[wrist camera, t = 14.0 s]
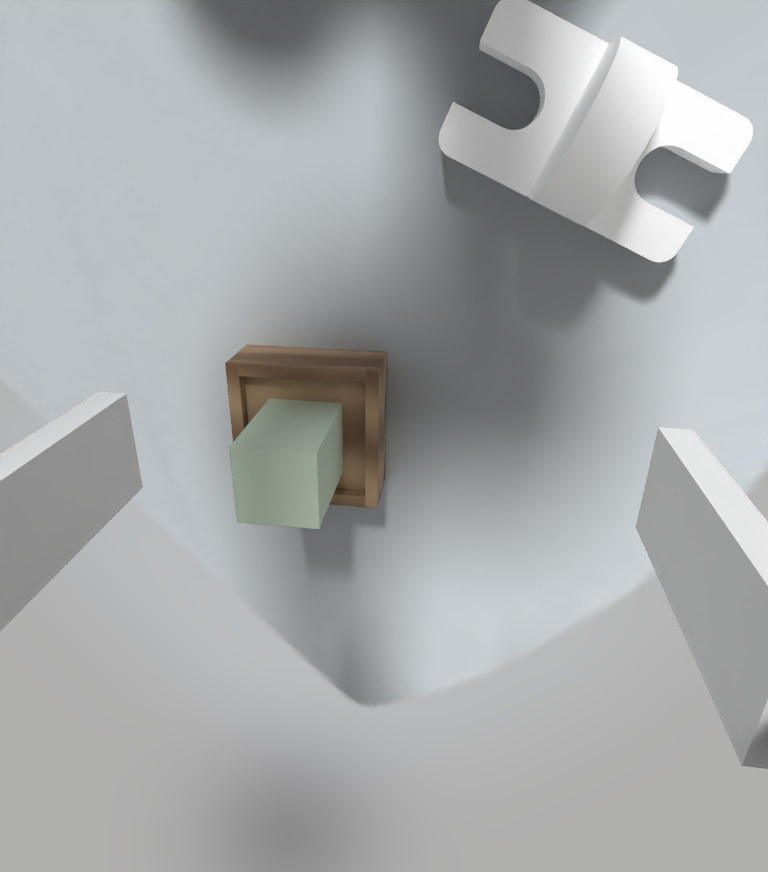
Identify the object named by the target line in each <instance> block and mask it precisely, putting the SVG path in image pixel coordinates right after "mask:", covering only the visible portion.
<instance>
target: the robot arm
mask: <svg viewBox="0 0 768 872" xmlns="http://www.w3.org/2000/svg"><path fill="white" fill-rule="evenodd" d="M142 487H143V486H142V480H141V475H140V469H139V463H138V458H137V452H136V446H135V441H134V435H133V429H132V424H131V418H130V412H129V407H128V401H127V395H126V394H123V393H107V392H97V393H96V394H94V395H93V396H91V397H89V398H88V399H86V400H85V401H83V402H82V403H80V404H78V405H77V406H75V407H74V408H72V409H71V410H69V411H67V412H66V413H64V414H63V415H61V416H60V417H58V418H56V419H55V420H53V421H52V422H50V423H49V424H47V425H45V426H44V427H42V428H41V429H39V430H38V431H36V432H34V433H33V434H31V435H30V436H28V437H27V438H25V439H24V440H22V441H20V442H19V443H17V444H16V445H14V446H12V447H11V448H9V449H8V450H7V451H5V452H3V453H1V454H0V631H1V630H2V629H3V628H4V627H5V626H6V625H7V624H8V623H9V622H10V621H11V620H12V619H13V618H14V617H15V616H16V615H17V614H18V613H19V612H20V611H21V610H22V609H23V608H24V607H25V606H26V605H27V604H28V603H29V602H30V601H31V600H32V599H33V597H35V596H36V595H37V594H38V593H39V592H40V591H41V590H42V589H43V588H44V587H45V586H46V585H47V584H48V583H49V582H50V581H51V579H52V578H54V577H55V575H57V574H58V572H59V571H60V570H61V569H62V568H63V567H64V566H65V565H66V564H67V563H68V562H69V561H70V560H71V559H72V558H73V557H74V556H75V555H76V554H77V553H78V552H79V551H80V550H81V549H82V548H83V547H84V546H85V545H86V544H87V543H88V542H89V541H90V540H91V539H92V538H93V537H94V536H95V535H96V534H97V533H98V532H99V531H100V530H101V529H102V528H103V527H104V526H105V525H106V524H107V523H108V522H109V521H110V520H111V519H112V518H113V517H114V516H115V515H116V514H117V513H118V512H119V511H120V510H121V508H123V507H124V505H126V504H127V503H128V502H129V501H130V499H131V498H132V497H133V496H134V495H135V494H136V493H137V492H138V491H139V490H140V489H141V488H142ZM636 529H637V531H638V533H639V535H640V538H641V540H642V542H643V544H644V547H645V549H646V551H647V553H648V556H649V558H650V560H651V562H652V565H653V567H654V569H655V571H656V574H657V576H658V578H659V580H660V582H661V585H662V587H663V589H664V592H665V594H666V596H667V598H668V600H669V603H670V605H671V607H672V609H673V612H674V614H675V616H676V618H677V621H678V623H679V625H680V627H681V630H682V632H683V634H684V636H685V639H686V641H687V643H688V645H689V648H690V650H691V652H692V654H693V657H694V658H695V661H696V663H697V666H698V668H699V670H700V672H701V675H702V677H703V679H704V681H705V684H706V686H707V688H708V690H709V693H710V695H711V697H712V699H713V701H714V704H715V706H716V708H717V711H718V713H719V715H720V717H721V720H722V722H723V724H724V726H725V728H726V731H727V733H728V735H729V737H730V740H731V742H732V744H733V747H734V749H735V751H736V753H737V756H738V758H739V760H740V762H741V764H742V766H750V767H758V768H767V769H768V522H767V521H766V519H765V518H764V517H763V516H762V514H761V513H760V512H759V511H758V510H757V508H756V507H755V506H754V504H753V503H752V502H751V501H750V500H749V498H748V497H747V496H746V495H745V493H744V492H743V491H742V490H741V488H740V487H739V486H738V485H737V484H736V482H735V481H734V480H733V479H732V477H731V476H730V475H729V474H728V472H727V471H726V470H725V469H724V467H723V466H722V465H721V464H720V463H719V461H718V460H717V459H716V458H715V456H714V455H713V454H712V453H711V451H710V450H709V449H708V448H707V446H706V445H705V444H704V443H703V442H702V440H701V439H700V438H699V437H698V435H697V434H696V433H695V432H694V430H692V429H676V428H660V427H658V431H657V436H656V440H655V444H654V449H653V453H652V458H651V462H650V467H649V471H648V475H647V480H646V484H645V489H644V493H643V498H642V502H641V506H640V511H639V515H638V520H637V524H636Z"/></svg>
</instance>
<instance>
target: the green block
mask: <svg viewBox="0 0 768 872" xmlns="http://www.w3.org/2000/svg"><path fill="white" fill-rule="evenodd" d="M229 448H230V458H231V467H232V477H233V487H234V496H235V506H236V515H237V522H240V523H252V524H264V525H275V526H287V527H299V528H310V529H320V527H321V524H322V522H323V519H324V517H325V514H326V512H327V509H328V507H329V504H330V502H331V499H332V497H333V494H334V492H335V489H336V487H337V484H338V482H339V479H340V477H341V474H342V472H343V410H342V403H333V402H317V401H301V400H285V399H268V401H267V402H266V403H265V404H264V405H263V407H262V408H261V409H260V410H259V412H258V413H257V414H256V415H255V416H254V418H253V419H252V420H251V421H250V422H249V424H248V425H247V426H246V427H245V429H244V430H243V431H242V432H241V433H240V435H239V436H238V437H237V438H236V439H235V441H234V442H233V443H232V444H231V445H230V447H229Z"/></svg>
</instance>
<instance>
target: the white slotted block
mask: <svg viewBox="0 0 768 872" xmlns="http://www.w3.org/2000/svg"><path fill="white" fill-rule="evenodd" d="M479 50H480V51H482V52H484V53H486V54H488V55H490V56H492V57H494V58H496V59H497V60H499V61H501V62H503V63H505V64H507V65H509V66H511V67H513V68H514V69H516V70H518V71H520V72H522V73H524V74H526V75H527V76H529V77H530V78H531V79H533V81H534V82H535V84H536V85H537V87H538V90H539V95H540V104H539V109H538V111H537V114H536V116H535V117H534V119H533V120H532V122H531V123H530V124H529V125H528V126H526V127H525V128H522V129H519V130H509V129H506V128H503V127H501V126H499V125H497V124H495V123H493V122H491V121H489V120H487V119H485V118H483V117H481V116H480V115H478V114H476V113H474V112H472V111H470V110H468V109H466V108H464V107H462V106H460V105H458V104H456V103H455V102H453V103H452V105H451V107H450V109H449V112H448V114H447V116H446V119H445V121H444V123H443V125H442V128H441V130H440V133H439V140H438V141H439V146H440V148H441V150H442V152H443V153H444V154H445V155H447V156H448V157H450V158H452V159H454V160H456V161H458V162H460V163H462V164H464V165H466V166H468V167H470V168H471V169H473V170H475V171H477V172H479V173H481V174H483V175H485V176H487V177H489V178H491V179H493V180H495V181H497V182H499V183H501V184H503V185H505V186H507V187H509V188H510V189H512V190H514V191H516V192H518V193H520V194H522V195H524V196H526V197H528V198H529V199H531V200H532V201H534V202H536V203H538V204H540V205H542V206H544V207H546V208H548V209H550V210H552V211H554V212H556V213H558V214H560V215H562V216H564V217H566V218H568V219H569V220H571V221H573V222H575V223H577V224H579V225H583V226H585V227H587V228H588V229H590V230H592V231H594V232H596V233H598V234H600V235H602V236H604V237H606V238H608V239H610V240H612V241H614V242H616V243H618V244H620V245H622V246H624V247H626V248H627V249H629V250H631V251H633V252H635V253H637V254H639V255H641V256H643V257H645V258H647V259H649V260H651V261H654V262H665V261H668V260H670V259H671V258H673V257H674V256H675V255H676V253H677V252H678V250H679V249H680V247H681V246H682V244H683V243H684V241H685V240H686V238H687V237H688V235H689V234H690V232H691V231H692V229H693V228H694V227H693V226H691V225H689V224H687V223H685V222H683V221H681V220H679V219H678V218H676V217H674V216H672V215H670V214H668V213H666V212H664V211H662V210H660V209H658V208H656V207H654V206H653V205H651V204H649V203H647V202H646V201H644V200H643V199H641V197H640V196H639V194H638V193H637V190H636V188H635V174H636V170H637V168H638V165H639V163H640V162H641V160H642V159H643V158H644V157H645V156H646V155H647V154H648V153H649V152H650V151H652V150H654V149H656V148H658V147H663V148H666V149H668V150H670V151H671V152H673V153H675V154H677V155H679V156H681V157H683V158H685V159H687V160H689V161H690V162H692V163H694V164H696V165H698V166H700V167H702V168H704V169H706V170H707V171H709V172H713V173H727V174H730V172H731V171H732V169H733V168H734V166H735V165H736V163H737V162H738V160H739V159H740V157H741V156H742V154H743V153H744V151H745V150H746V148H747V147H748V145H749V143H750V141H751V139H752V135H753V128H752V125H751V123H750V121H749V120H748V119H747V118H746V117H744V116H742V115H740V114H738V113H737V112H735V111H733V110H731V109H729V108H727V107H725V106H724V105H722V104H720V103H718V102H716V101H714V100H712V99H711V98H709V97H707V96H705V95H703V94H701V93H699V92H698V91H696V90H694V89H692V88H690V87H688V86H686V85H685V84H683V83H681V82H679V81H677V75H678V70H677V66H675V65H673V64H671V63H669V62H668V61H666V60H664V59H662V58H660V57H658V56H656V55H655V54H653V53H651V52H649V51H647V50H645V49H644V48H642V47H640V46H638V45H636V44H634V43H632V42H631V41H629V40H627V39H625V38H623V37H621V36H619V37H617V38H616V39H614V40H613V41H612V42H611V43H609V44H608V43H606V42H605V41H603V40H601V39H599V38H597V37H595V36H593V35H592V34H590V33H588V32H586V31H584V30H582V29H580V28H579V27H577V26H575V25H573V24H571V23H569V22H567V21H566V20H564V19H562V18H560V17H558V16H556V15H554V14H553V13H551V12H549V11H547V10H545V9H543V8H541V7H540V6H538V5H536V4H534V3H532V2H530V1H528V0H500V1H499V3H498V4H497V5H496V7H495V8H494V10H493V13H492V15H491V17H490V19H489V22H488V24H487V26H486V28H485V31H484V33H483V35H482V37H481V40H480V44H479Z"/></svg>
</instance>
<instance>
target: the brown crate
mask: <svg viewBox="0 0 768 872" xmlns="http://www.w3.org/2000/svg"><path fill="white" fill-rule="evenodd" d="M225 364H226V374H227V384H228V394H229V404H230V414H231V424H232V434H233V442H234V441H235V439H236V438H237V437H238V436H239V435H240V433H241V432H242V431H243V430H244V429H245V427H246V426H247V425H248V424H249V422H250V421H251V420H252V419H253V418H254V416H255V415H256V414H257V413H258V412H259V410H260V409H261V408H262V407H263V405H264V404H265V403H266V402H267V401H268V399H285V400H301V401H317V402H333V403H342V410H343V472H342V474H341V477H340V479H339V482H338V484H337V487H336V489H335V492H334V494H333V497H332V499H331V502H330V504H334V505H346V506H358V507H370V508H377V506H378V502H379V499H380V495H381V491H382V487H383V484H384V480H385V429H386V371H387V352H370V351H351V350H332V349H313V348H294V347H275V346H256V345H246V346H245V347H244V348H243V349H241V350H240V351H239V352H238V353H237V354H236V355H234V356H233V357H232V358H231V359H230V360H229V361H227V362H226V363H225Z"/></svg>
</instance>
